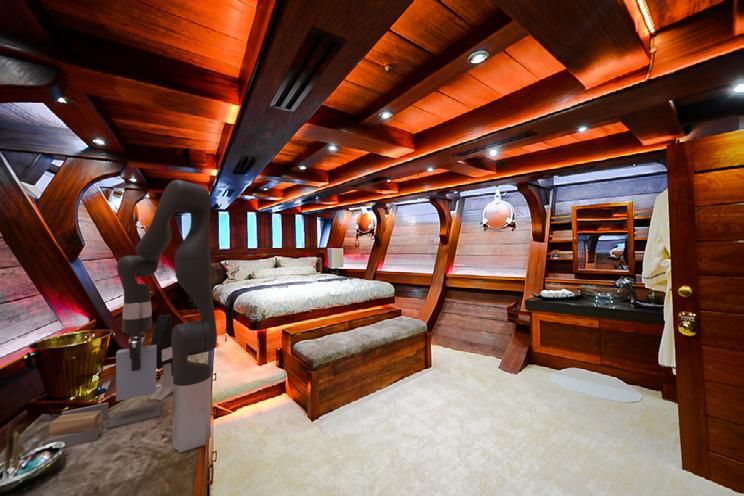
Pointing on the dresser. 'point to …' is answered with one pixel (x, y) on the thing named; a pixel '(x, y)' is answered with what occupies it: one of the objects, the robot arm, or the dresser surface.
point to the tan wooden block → (84, 435)
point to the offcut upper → (76, 423)
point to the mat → (135, 415)
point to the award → (163, 355)
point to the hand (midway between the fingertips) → (137, 367)
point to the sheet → (135, 374)
